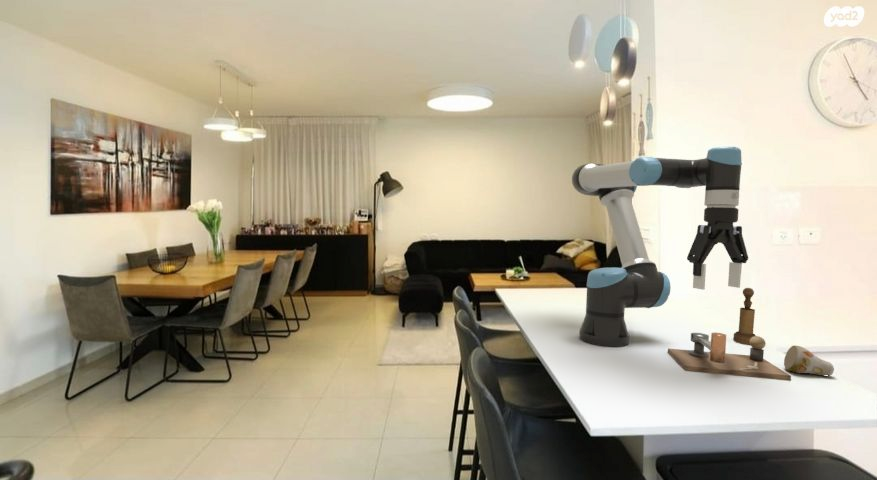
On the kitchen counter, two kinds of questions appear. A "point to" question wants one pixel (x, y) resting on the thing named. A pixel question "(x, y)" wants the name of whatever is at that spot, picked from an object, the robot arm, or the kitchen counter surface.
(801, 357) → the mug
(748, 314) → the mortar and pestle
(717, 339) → the lever
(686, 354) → the wooden board
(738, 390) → the kitchen counter surface
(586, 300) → the robot arm
